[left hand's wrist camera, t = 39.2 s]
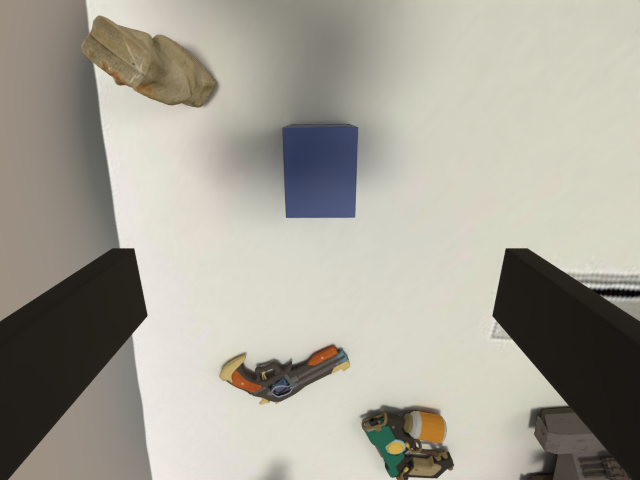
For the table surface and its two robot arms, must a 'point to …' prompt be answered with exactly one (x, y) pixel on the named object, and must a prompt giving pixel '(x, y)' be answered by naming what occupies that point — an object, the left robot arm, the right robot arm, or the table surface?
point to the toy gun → (284, 375)
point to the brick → (320, 170)
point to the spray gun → (409, 443)
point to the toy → (574, 448)
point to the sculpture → (148, 64)
